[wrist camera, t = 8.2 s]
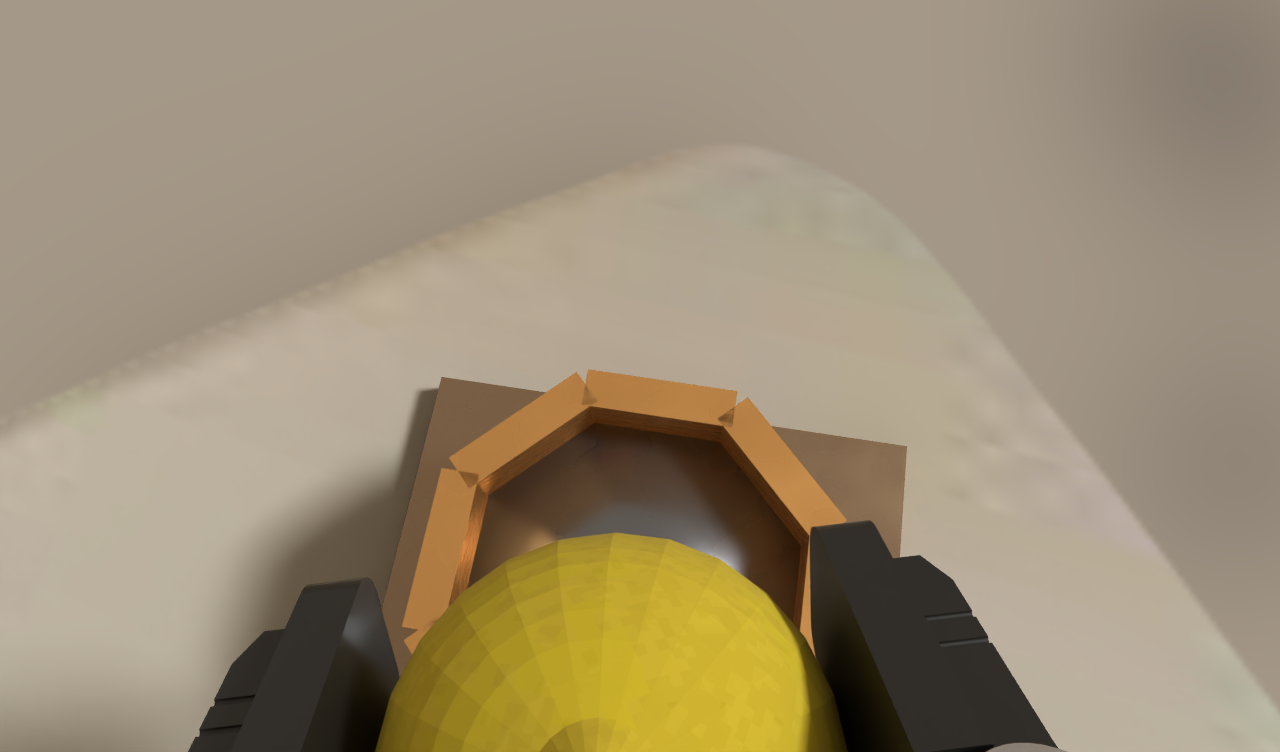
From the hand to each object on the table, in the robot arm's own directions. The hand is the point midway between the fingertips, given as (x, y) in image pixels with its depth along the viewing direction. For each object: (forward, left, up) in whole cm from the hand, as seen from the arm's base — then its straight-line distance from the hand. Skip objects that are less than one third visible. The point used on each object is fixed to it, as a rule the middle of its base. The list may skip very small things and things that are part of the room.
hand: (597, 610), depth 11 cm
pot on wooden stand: (0, +2, -18) cm, 18 cm away
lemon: (+1, -2, -4) cm, 5 cm away
